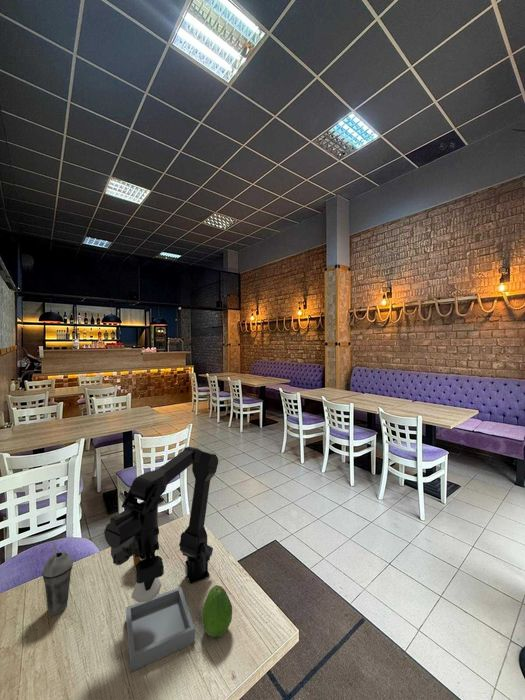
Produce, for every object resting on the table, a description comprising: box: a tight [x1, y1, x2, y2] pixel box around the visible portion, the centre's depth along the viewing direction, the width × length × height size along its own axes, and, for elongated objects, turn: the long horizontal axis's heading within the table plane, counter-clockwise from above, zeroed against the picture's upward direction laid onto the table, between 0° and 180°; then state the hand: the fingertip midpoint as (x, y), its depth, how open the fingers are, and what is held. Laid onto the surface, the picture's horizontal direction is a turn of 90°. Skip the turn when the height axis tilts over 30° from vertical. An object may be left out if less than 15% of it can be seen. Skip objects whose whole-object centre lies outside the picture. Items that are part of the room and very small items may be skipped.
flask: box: [131, 554, 162, 603], centre depth 79 cm, size 7×7×10 cm
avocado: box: [201, 585, 233, 638], centre depth 78 cm, size 8×8×12 cm
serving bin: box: [125, 586, 196, 673], centre depth 79 cm, size 15×15×4 cm
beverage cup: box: [41, 540, 74, 616], centre depth 85 cm, size 7×7×20 cm
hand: (146, 582), depth 79 cm, fingers closed on flask, 5 cm apart
